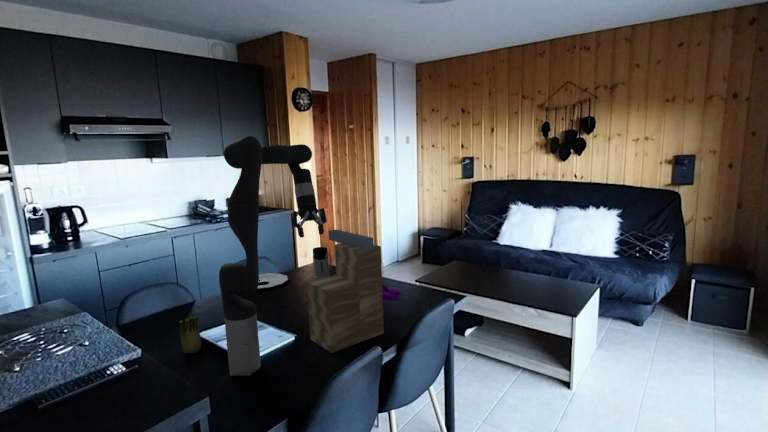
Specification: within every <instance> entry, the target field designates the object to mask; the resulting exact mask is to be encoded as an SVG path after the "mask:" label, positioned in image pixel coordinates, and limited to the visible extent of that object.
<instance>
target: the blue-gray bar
mask: <svg viewBox="0 0 768 432" xmlns="http://www.w3.org/2000/svg"><path fill="white" fill-rule="evenodd" d="M328 240H329V241H331V242H336V243H338V244H346V245H350V246H354V247H357V248H361V249H365V250H366V249H371V248H373V244H374V237H370V236H366V235H362V234H357V233H352V232H349V231H344V230H339V229H332V230H328Z"/></svg>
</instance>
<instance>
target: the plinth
mask: <svg viewBox="0 0 768 432" xmlns="http://www.w3.org/2000/svg"><path fill="white" fill-rule="evenodd" d="M334 255H335V257H334V260H335V274H333V275H330V276H328V277H324V278H320V279H317V278H315V279H313V280H312V279H311V280H308V281H306V289H307V290H306V291H307V292H306V293H307V304H308V305H307V307H308V320H309V321H308V323H309V324H308V325H309V337H310V340H311V341H312V342H314V343H316V344H317V345H318V346H320V347H322V348H324V350H327V351H328V352H329V353H332V354H333V353H336V352H338V351H340V350H344V349H345V348H348V347H350V346H354V345H357V344H358V343H363V342H365V341H366V340H369V339H373V338H375V337H378V336H380V335H381V336H382V335H383V334H384V332H385V331H384V330H385V329H384V326H385V325H384V302H383V300H384V299H383V294H382V284H383V272H382V271H383V270H382V268H383V267H382V246H381V245H377V244H374V243H373V248H371V249H366V250H365V249H361V248H357V247H354V246H350V245H346V244H342V243H337V244H334Z"/></svg>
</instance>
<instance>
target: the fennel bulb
mask: <svg viewBox="0 0 768 432" xmlns="http://www.w3.org/2000/svg"><path fill="white" fill-rule="evenodd" d="M198 322H199V321H198V316H189V317H188V318H186V319H185V320H184V321H183V320H180V321H179V322H178V325H179V331H180V333H179V334H180V346H181V349H182V351H183V353H184V354H195V353H197V352H199V351H200V349H201V347H202V338H201V337H202V336H201V334H200V330H199V323H198Z"/></svg>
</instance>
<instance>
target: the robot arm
mask: <svg viewBox="0 0 768 432" xmlns="http://www.w3.org/2000/svg"><path fill="white" fill-rule="evenodd" d="M312 157H313V152H312V149H311V147H309V146H308V145H306V144H303V143H302V144H293V145H286V144H285V145H283V144H274V145H273V144H272V145H265V146H262V144H261V143H260V141H259V140H258V139H257V138H256V137H255V136H253V135H252V136H251V135H247V136H243V137H241V138H238V139H235V140H234V141H232V142H230V143H228V144H227V145H226V146H225V147H224V150H223V158H224V160H225V162H226V163H227V164H228V166H230V167H232V168H233V169H238V170H239V169H241V170H240V174H239V177H238V179H237V182H236V184H235V185H234V188H233V190H232V191H231V194H230V196H229V200H228V202H227V203H228V205H227V223H228V225H229V228H230V230H232V232H233V234H234V235H235V236H236V238H237V239H238V241H239V243H240V244H241V247H242V248H243V251H244V253H245V258H246V261H245V262H229V263H223V264H222V265H221V266H220V269H219V273H218V280H219V281H218V282H219V283H218V284H219V289H220V294H221V301H222V311H223V315H224V326H225V327H224V329H225V338H226V348H227V358H228V369H229V376H231V377H233V376H236V377H237V376H251V375H252V374H253V373H255V372H257V371H258V370H259V369H260V368H261V366H262V362H261V352H260V337H259V329H258V328H259V327H258V318H257V317H258V315H257V306H256V304H255V302H253V301H251V300H247V299H244V298H242V297H241V296H238V295H243V294H244V295H245V294H254V293H256V292H257V291H258V290H257V289H258V285H259V283H260V282H259V274H260V272H259V271H260V270H259V249H258V248H259V247H258V242H259V241H258V240H259V239H258V236H259V219H260V217H259V216H260V215H259V214H260V213H259V212H260V201H259V200H260V198H259V197H260V195H259V194H260V177H261V172H262V171H261V170H262V165H275V164H276V165H288V167H289V170H290V173H291V175H292V179H293V185H294V194H295V200H296V207H297V211H296V210H294V211H291V212H290V219H291V226H292V228H296V229H297V233H298V237H299V238H304V237H305V235H304V234H305V233H304V227H303V225H304V224H305V222H309V221H311V222H312V221H313V222H315V223H316V225H317V229H318V235H320V236H321V235H323V234H325V230H324V224H326V223H327V222H328V220H327V215H326V211H325V208H324V207H322V208H319V209H318V207H317V199H316V193H315V189H314V184H313V179H312V173H311V171H310V169H308V168H302V167H301V164H305V163H308V162H310V161H311V159H312ZM298 216H299V219H298Z"/></svg>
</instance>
